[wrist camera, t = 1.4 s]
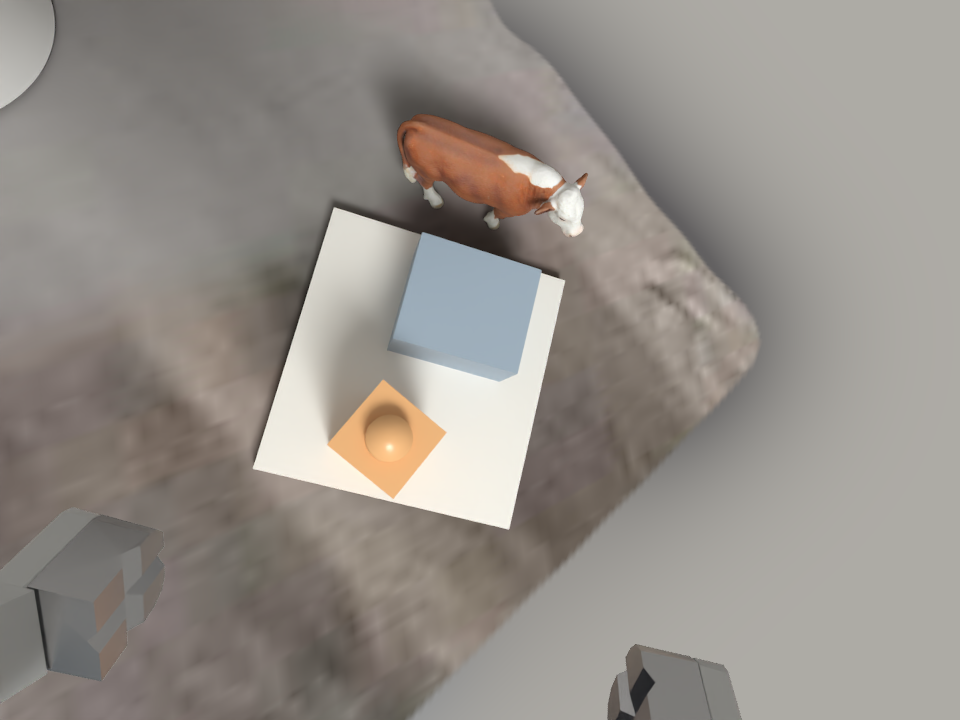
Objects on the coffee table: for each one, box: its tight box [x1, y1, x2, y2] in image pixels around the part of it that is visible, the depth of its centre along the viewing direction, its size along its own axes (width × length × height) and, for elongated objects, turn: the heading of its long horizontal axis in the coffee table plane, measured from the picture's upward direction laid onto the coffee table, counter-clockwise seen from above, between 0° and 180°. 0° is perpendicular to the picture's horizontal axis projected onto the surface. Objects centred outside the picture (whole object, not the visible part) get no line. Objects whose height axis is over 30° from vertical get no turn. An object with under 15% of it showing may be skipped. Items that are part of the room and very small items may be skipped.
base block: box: [387, 232, 542, 382], centre depth 41 cm, size 8×7×4 cm
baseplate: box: [253, 207, 565, 529], centre depth 43 cm, size 17×18×1 cm
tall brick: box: [327, 380, 447, 499], centre depth 36 cm, size 4×4×9 cm
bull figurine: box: [397, 114, 588, 237], centre depth 42 cm, size 4×13×8 cm, turn 66°
